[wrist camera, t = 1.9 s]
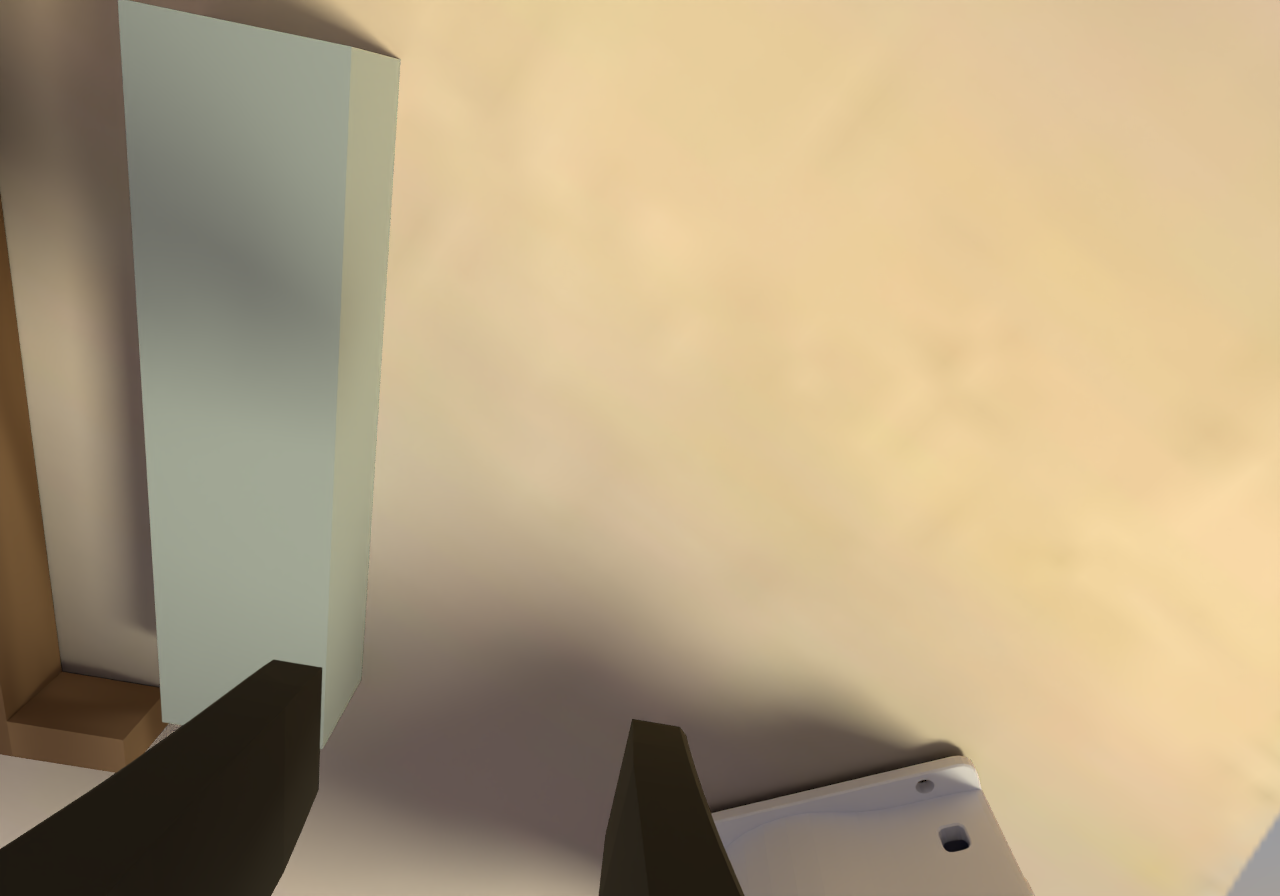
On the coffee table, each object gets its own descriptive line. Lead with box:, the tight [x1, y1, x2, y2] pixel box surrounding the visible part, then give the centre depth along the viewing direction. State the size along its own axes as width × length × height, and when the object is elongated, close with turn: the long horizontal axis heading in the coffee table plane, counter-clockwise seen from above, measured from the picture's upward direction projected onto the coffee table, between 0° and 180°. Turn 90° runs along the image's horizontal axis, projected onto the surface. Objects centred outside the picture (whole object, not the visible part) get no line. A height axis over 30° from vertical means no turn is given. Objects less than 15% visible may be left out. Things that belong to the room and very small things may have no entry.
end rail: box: [0, 196, 169, 773], centre depth 17 cm, size 5×21×2 cm, turn 169°
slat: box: [118, 0, 401, 749], centre depth 18 cm, size 4×16×3 cm, turn 169°
